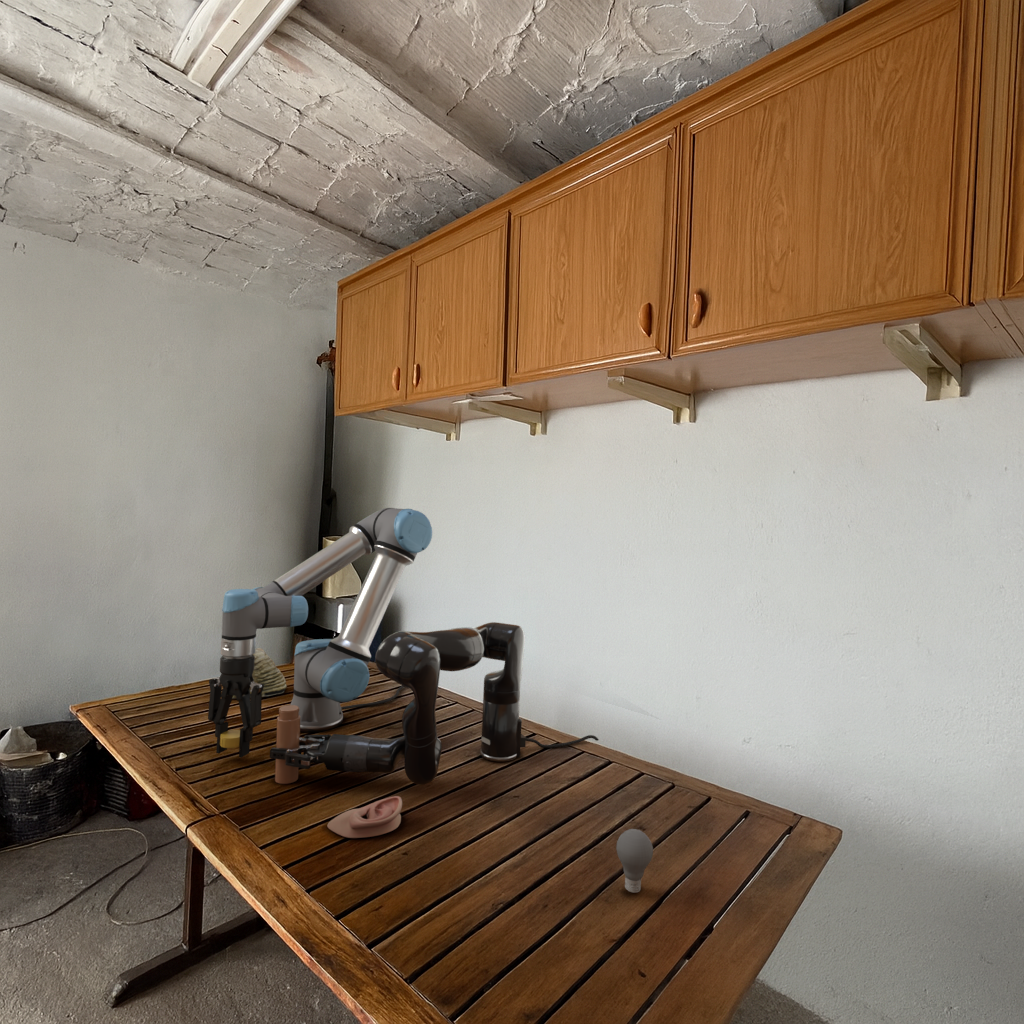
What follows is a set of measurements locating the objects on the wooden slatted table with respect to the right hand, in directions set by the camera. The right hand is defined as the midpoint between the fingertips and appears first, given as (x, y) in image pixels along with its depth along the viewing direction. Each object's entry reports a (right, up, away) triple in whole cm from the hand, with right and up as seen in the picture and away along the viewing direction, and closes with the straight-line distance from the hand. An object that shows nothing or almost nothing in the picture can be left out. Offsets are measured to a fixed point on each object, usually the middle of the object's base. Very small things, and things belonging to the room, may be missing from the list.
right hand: (276, 748), depth 141 cm
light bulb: (+73, -11, -36) cm, 82 cm away
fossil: (-28, -5, +57) cm, 63 cm away
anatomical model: (+24, -8, -18) cm, 31 cm away
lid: (-13, 0, +8) cm, 15 cm away
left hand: (-13, -4, +8) cm, 16 cm away
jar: (+2, -7, 0) cm, 7 cm away
